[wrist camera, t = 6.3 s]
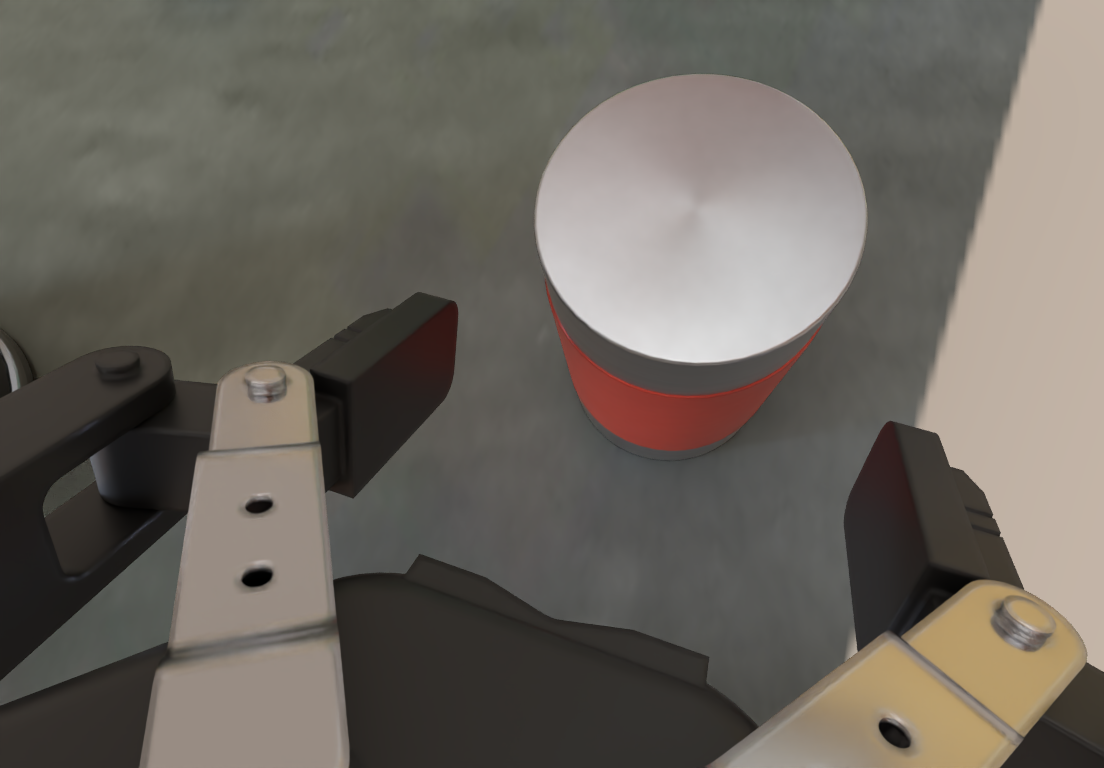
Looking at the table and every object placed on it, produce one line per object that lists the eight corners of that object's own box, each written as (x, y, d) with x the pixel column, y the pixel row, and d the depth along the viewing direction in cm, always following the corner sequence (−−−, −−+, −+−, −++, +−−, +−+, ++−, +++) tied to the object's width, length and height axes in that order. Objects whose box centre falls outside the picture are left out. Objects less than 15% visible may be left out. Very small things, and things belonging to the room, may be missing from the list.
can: (549, 430, 21) (485, 317, 12) (604, 265, 23) (586, 45, 13) (735, 487, 20) (831, 410, 11) (781, 309, 22) (902, 103, 12)
